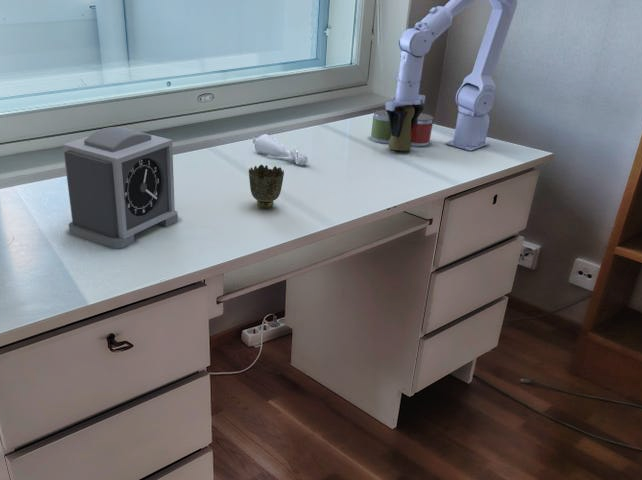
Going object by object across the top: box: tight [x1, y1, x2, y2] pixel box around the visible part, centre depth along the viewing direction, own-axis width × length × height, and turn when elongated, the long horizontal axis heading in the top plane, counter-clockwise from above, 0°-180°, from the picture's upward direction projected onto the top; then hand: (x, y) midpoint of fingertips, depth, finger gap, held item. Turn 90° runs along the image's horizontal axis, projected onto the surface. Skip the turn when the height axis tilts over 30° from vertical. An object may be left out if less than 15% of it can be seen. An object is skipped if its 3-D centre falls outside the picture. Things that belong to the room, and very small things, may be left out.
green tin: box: [370, 109, 392, 144], centre depth 192 cm, size 8×8×7 cm
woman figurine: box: [252, 133, 309, 166], centre depth 175 cm, size 12×4×18 cm
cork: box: [387, 105, 415, 151], centre depth 182 cm, size 6×6×11 cm
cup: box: [248, 164, 285, 210], centre depth 145 cm, size 8×7×8 cm
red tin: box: [411, 112, 434, 148], centre depth 191 cm, size 8×8×7 cm
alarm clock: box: [62, 126, 179, 250], centre depth 130 cm, size 18×13×18 cm
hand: (401, 134), depth 183 cm, fingers closed on cork, 5 cm apart
